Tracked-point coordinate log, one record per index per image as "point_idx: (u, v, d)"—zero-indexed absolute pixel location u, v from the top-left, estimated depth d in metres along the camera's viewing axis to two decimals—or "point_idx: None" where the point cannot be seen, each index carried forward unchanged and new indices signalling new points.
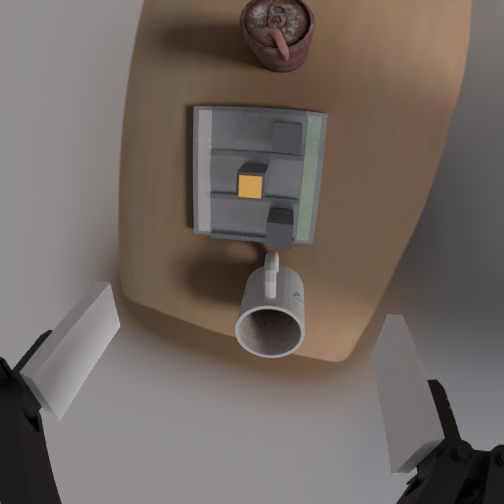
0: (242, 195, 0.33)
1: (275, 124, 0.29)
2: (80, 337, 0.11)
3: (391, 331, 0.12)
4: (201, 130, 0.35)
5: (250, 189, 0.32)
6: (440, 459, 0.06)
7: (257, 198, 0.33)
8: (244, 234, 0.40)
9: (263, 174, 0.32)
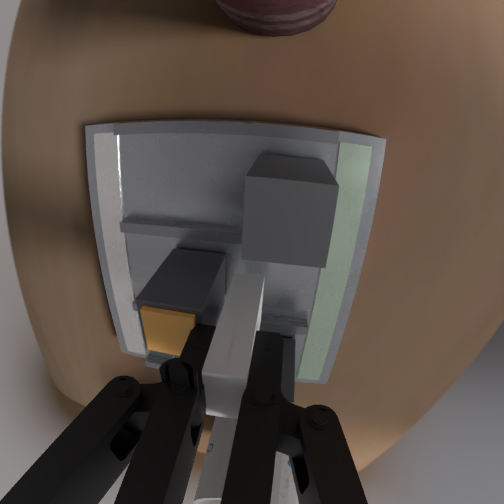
0: None
1: (252, 182, 0.10)
2: None
3: (246, 287, 0.14)
4: (101, 176, 0.16)
5: (170, 340, 0.13)
6: (240, 410, 0.08)
7: None
8: None
9: (197, 311, 0.12)
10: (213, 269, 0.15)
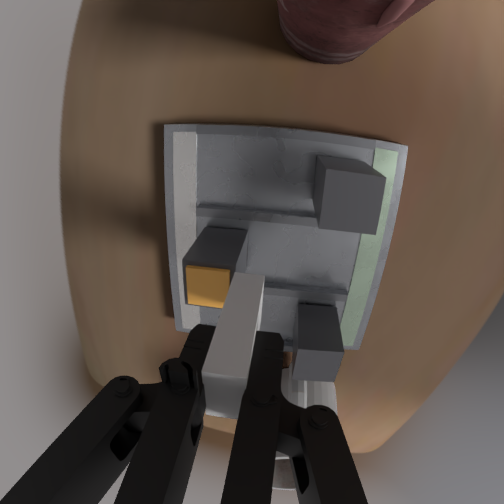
0: (195, 301, 0.17)
1: (330, 173, 0.14)
2: None
3: (246, 287, 0.14)
4: (177, 169, 0.20)
5: (208, 293, 0.17)
6: (240, 410, 0.08)
7: None
8: None
9: (232, 266, 0.16)
10: (240, 240, 0.19)
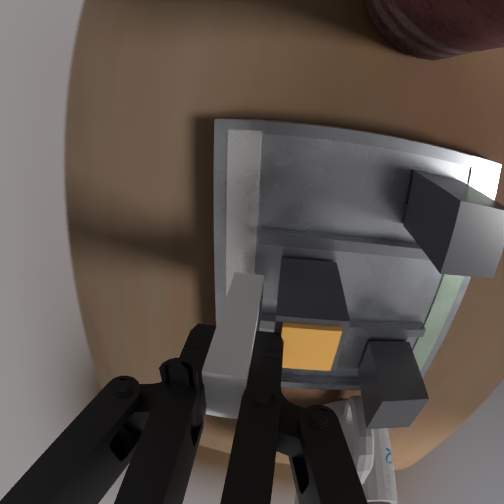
0: None
1: (464, 206, 0.09)
2: None
3: (246, 287, 0.14)
4: (233, 180, 0.15)
5: (308, 355, 0.12)
6: (240, 410, 0.08)
7: None
8: (314, 377, 0.20)
9: (345, 323, 0.12)
10: (335, 279, 0.15)
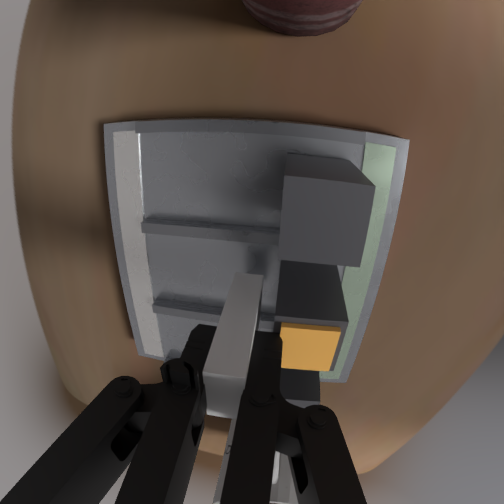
0: None
1: (291, 181, 0.10)
2: None
3: (245, 287, 0.14)
4: (120, 176, 0.16)
5: (307, 355, 0.12)
6: (239, 410, 0.08)
7: None
8: None
9: (344, 323, 0.12)
10: (334, 279, 0.15)
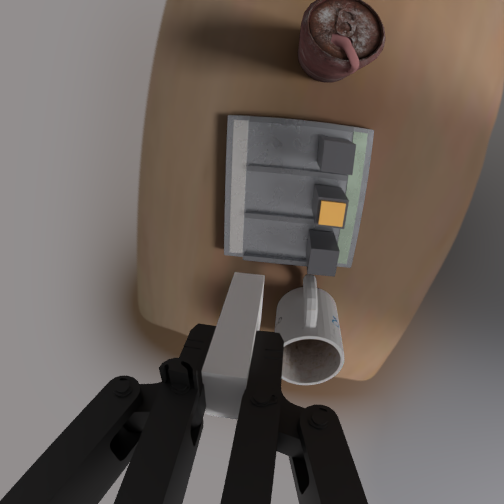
0: (322, 223, 0.30)
1: (326, 142, 0.26)
2: None
3: (246, 287, 0.14)
4: (235, 142, 0.32)
5: (332, 217, 0.29)
6: (240, 410, 0.08)
7: (338, 226, 0.30)
8: (280, 257, 0.38)
9: (347, 201, 0.28)
10: (341, 191, 0.31)
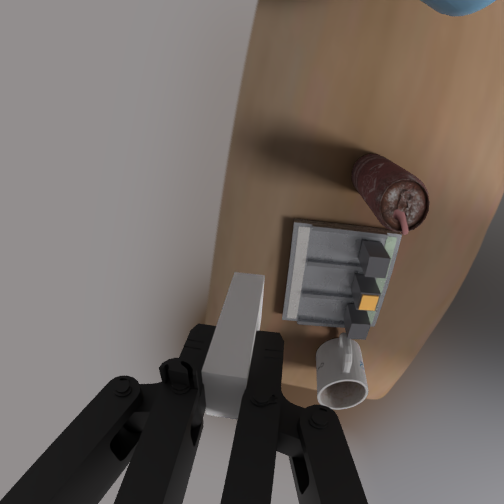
0: (361, 308, 0.41)
1: (371, 257, 0.37)
2: None
3: (246, 287, 0.14)
4: (298, 243, 0.43)
5: (368, 305, 0.40)
6: (240, 410, 0.08)
7: None
8: (324, 321, 0.49)
9: (379, 294, 0.40)
10: (374, 281, 0.42)
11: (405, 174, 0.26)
